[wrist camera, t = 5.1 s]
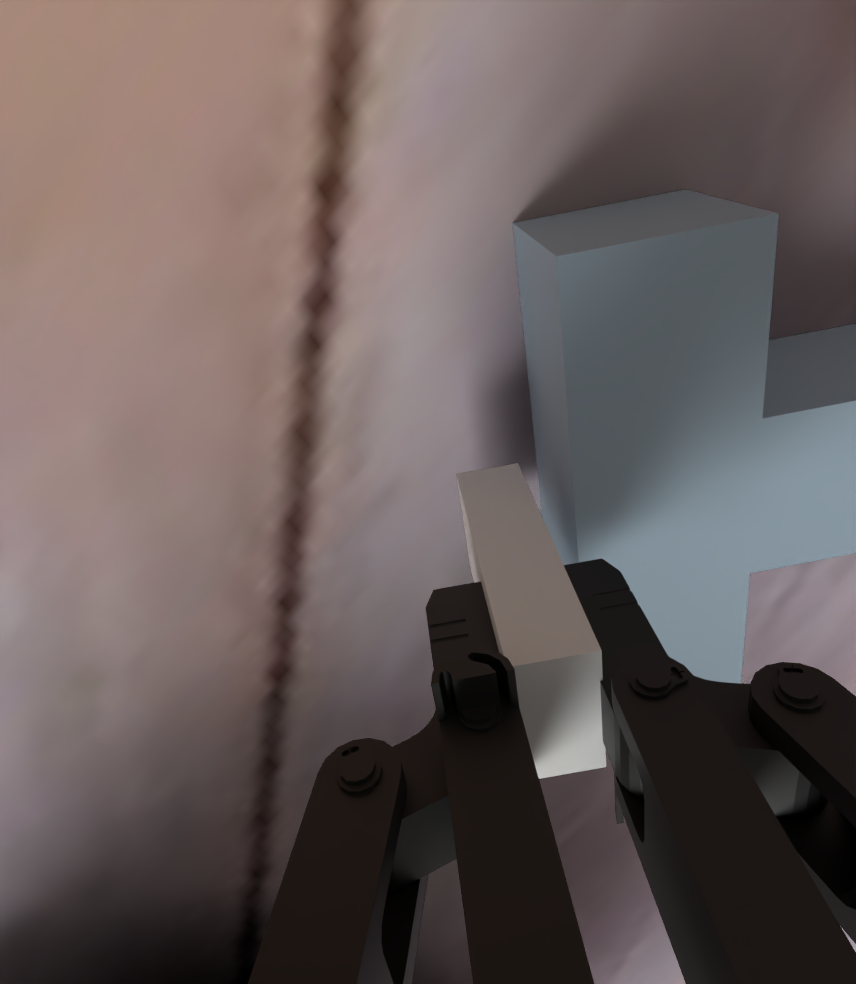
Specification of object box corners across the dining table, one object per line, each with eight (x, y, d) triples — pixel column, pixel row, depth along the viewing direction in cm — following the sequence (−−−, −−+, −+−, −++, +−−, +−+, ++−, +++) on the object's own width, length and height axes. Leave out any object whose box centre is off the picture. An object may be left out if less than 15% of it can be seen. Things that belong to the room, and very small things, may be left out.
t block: (512, 222, 16) (556, 256, 12) (1033, 122, 16) (1226, 126, 12) (552, 623, 22) (590, 723, 18) (930, 551, 22) (1040, 637, 18)
